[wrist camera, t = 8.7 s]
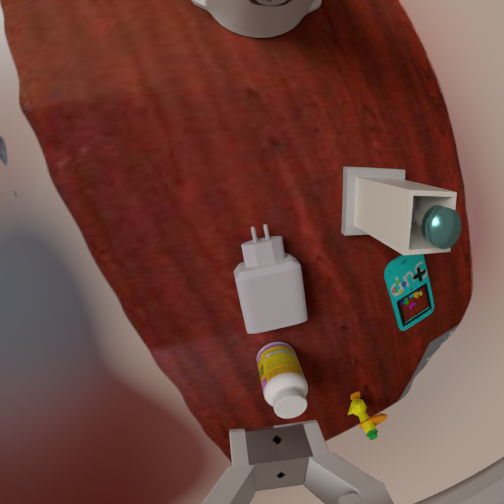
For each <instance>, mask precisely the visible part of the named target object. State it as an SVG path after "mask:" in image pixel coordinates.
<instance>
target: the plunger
mask: <svg viewBox="0 0 504 504" xmlns="http://www.w3.org/2000/svg"><path fill="white" fill-rule="evenodd" d="M415 199H416V196H413V208H412V221H411V228H413V224H414V223H416V224H418V225H420V226H421V231H422V235H423V237H424V239H425V240H426V241H427V242H428V243H430V244H432V245H434V246H436V247H438V248H440V249H448V248H450V247H451V246H453V245H454V244H455V243H456V241H457V240H458V238H459V235H460V232H461V219H460V216H459V214H458V213H457V212H456V211H455V210H453V209H451V208H448V207H445V206H441V205H434V206H432V207H431V208H429V209H428V210H427V212H426V213H424V212H421V211H419V210H416V209H415Z"/></svg>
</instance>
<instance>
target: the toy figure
mask: <svg viewBox="0 0 504 504" xmlns="http://www.w3.org/2000/svg"><path fill="white" fill-rule="evenodd" d="M359 398H360V392H355V393H353V394H351V400H352V402H351V406H350V409H349V412H348V415H349V414H354V415H357V416H359V419H360V422H361V423H360V428H364V430H365V432H366V434H367V436H368V437H369V439H370V440H373V439H375V438H376V437H377V432H378V431H377V429H376V427H375V426H376V425H378V424H380V423H381V422H383V421H384V420H385V419H386V418H387V415H385V414H382V413H381V414H378V415H375V416H373V417H370V418H369V416H368V415H367V414H366V408H367V406H366V404H365V403H364V401H363V400H362V399H359Z"/></svg>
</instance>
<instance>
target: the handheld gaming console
mask: <svg viewBox="0 0 504 504" xmlns="http://www.w3.org/2000/svg"><path fill="white" fill-rule="evenodd" d="M384 278H385V282H386V285H387V288H388V292H389V295H390V298H391V302H392V305H393V309H394V312H395V316H396V320H397V323H398V327H399V329H400V330H401V331H404V330H407V329H408V328H410V327H411V326H413V325H414V324H416V323H417V322H419V321H421V320H422V319H424V318H425V317H427V316H428V315H430V314H431V313H432V312H433V310H434V302H433V296H432V291H431V286H430V281H429V277H428V272H427V268H426V263H425V259H424V255H423V254H416V255H401V256H399V257H397V258H396V259H394V260H392V261H391V262H390V263H389V264H388V265H387V267H386V269H385V273H384ZM424 286H425V291H426V295H427V299H428V304H429V307H428V308H427V309H425V310H424V311H422V312H420V313H419V314H417V315H416V316H414V317H413V318H411V319H410V320H408V321H406V322H405V321H404V318H403V314H402V310H401V307H400V303H399V302H400V301H401V305H404V304H405V303H406V305H407V304H408V299H410V298H411V297H413V296H414V298H415V297H416V298H418V295H419V294H420V296H421V295H422V291H419V290H420V289H421V288H422V287H424ZM408 296H409V297H408ZM414 305H415V303H413V304H412V305H410V306H409V308H410V310H411V309H412V306H414Z"/></svg>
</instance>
